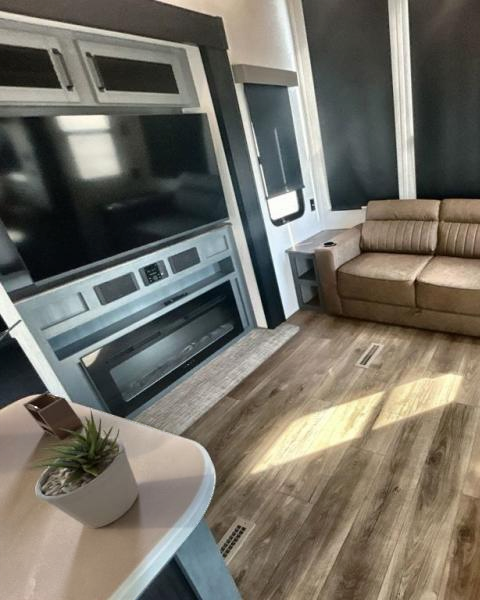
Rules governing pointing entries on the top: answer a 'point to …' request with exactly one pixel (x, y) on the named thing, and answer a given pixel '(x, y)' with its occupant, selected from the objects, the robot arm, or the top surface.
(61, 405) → the brown open box
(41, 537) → the top surface
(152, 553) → the top surface
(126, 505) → the potted plant
